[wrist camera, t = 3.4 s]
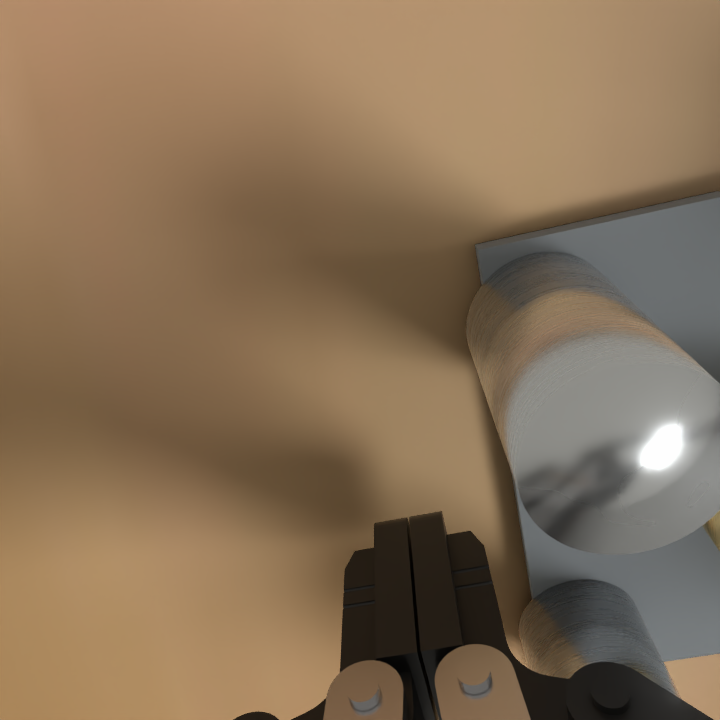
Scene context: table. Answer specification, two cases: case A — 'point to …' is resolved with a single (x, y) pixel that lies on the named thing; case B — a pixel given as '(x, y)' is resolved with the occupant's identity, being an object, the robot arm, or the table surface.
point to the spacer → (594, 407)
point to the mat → (697, 338)
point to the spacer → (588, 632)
